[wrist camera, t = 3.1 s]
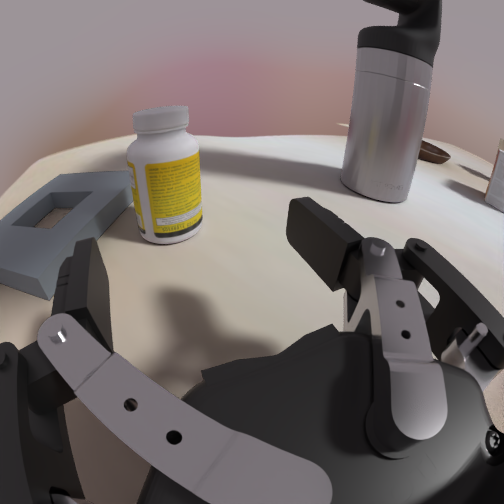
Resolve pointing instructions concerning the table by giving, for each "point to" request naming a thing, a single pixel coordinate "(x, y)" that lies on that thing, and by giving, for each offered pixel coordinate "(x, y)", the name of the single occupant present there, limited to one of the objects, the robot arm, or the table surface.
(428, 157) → the plant saucer
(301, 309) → the table surface
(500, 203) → the small box
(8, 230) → the hole board
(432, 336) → the robot arm
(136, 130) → the supplement bottle
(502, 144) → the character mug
